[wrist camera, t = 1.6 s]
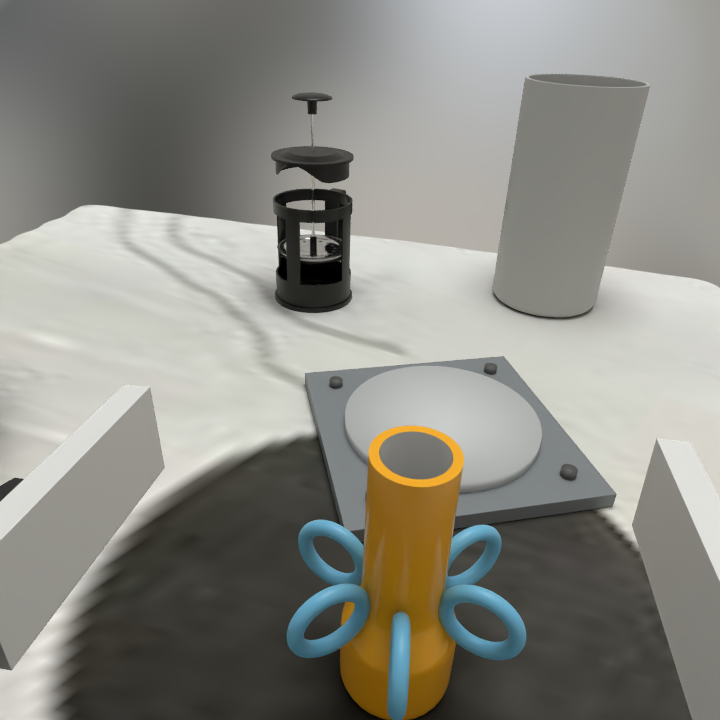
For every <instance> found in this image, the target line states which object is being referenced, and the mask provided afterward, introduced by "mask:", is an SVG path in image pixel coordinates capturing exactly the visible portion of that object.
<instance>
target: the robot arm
mask: <svg viewBox="0 0 720 720" xmlns="http://www.w3.org/2000/svg"><path fill="white" fill-rule="evenodd" d="M164 468H165V467H164V462H163V456H162V450H161V445H160V439H159V434H158V428H157V423H156V417H155V412H154V406H153V401H152V395H151V389H150V387H145V386H135V385H125V384H124V385H123V386H122V387H121V388H120V389H119V390H118V391H117V392H116V393H115V394H114V395H113V396H112V397H110V398H109V399H108V400H107V401H106V402H105V403H104V404H103V405H102V406H101V407H100V408H99V409H98V410H97V411H96V412H95V413H94V414H92V415H91V416H90V417H89V418H88V419H87V420H86V421H85V422H84V423H83V424H82V425H81V426H80V427H79V428H78V429H77V430H76V431H74V432H73V433H72V434H71V435H70V436H69V437H68V438H67V439H66V440H65V441H64V442H63V443H62V444H61V445H60V446H59V447H58V448H57V449H55V450H54V451H53V452H52V453H51V454H50V455H49V456H48V457H47V458H46V459H45V460H44V461H43V462H42V463H41V464H40V465H39V466H37V467H36V468H35V469H34V470H33V471H32V472H31V473H30V474H29V475H28V476H27V477H26V478H25V479H20V478H14V479H12V480H10V481H8V482H6V483H5V484H3V485H1V486H0V668H1V669H7V670H12V669H13V668H14V667H15V665H16V664H17V663H18V661H19V660H20V659H21V657H22V656H23V655H24V653H25V652H26V651H27V649H28V648H29V647H30V645H31V644H32V643H33V641H34V640H35V639H36V637H37V636H38V635H39V633H40V632H41V631H42V630H43V628H44V627H45V626H46V624H47V623H48V622H49V620H50V619H51V618H52V616H53V615H54V614H55V612H56V611H57V610H58V608H59V607H60V606H61V604H62V603H63V602H64V600H65V599H66V598H67V596H68V595H69V594H70V592H71V591H72V590H73V588H74V587H75V586H76V584H77V583H78V582H79V580H80V579H81V578H82V576H83V575H84V574H85V572H86V571H87V570H88V568H89V567H90V566H91V565H92V563H93V562H94V561H95V559H96V558H97V557H98V555H99V554H100V553H101V551H102V550H103V549H104V547H105V546H106V545H107V543H108V542H109V541H110V539H111V538H112V537H113V535H114V534H115V533H116V531H117V530H118V529H119V527H120V526H121V525H122V523H123V522H124V521H125V519H126V518H127V517H128V515H129V514H130V513H131V511H132V510H133V509H134V507H135V506H136V505H137V504H138V502H139V501H140V500H141V498H142V497H143V496H144V494H145V493H146V492H147V490H148V489H149V488H150V486H151V485H152V484H153V482H154V481H155V480H156V478H157V477H158V476H159V474H160V473H161V472H162V470H163V469H164ZM632 527H633V530H634V533H635V536H636V540H637V543H638V546H639V549H640V552H641V556H642V559H643V562H644V565H645V569H646V572H647V575H648V578H649V581H650V585H651V588H652V591H653V594H654V598H655V601H656V604H657V607H658V611H659V614H660V617H661V620H662V623H663V627H664V630H665V633H666V636H667V640H668V643H669V646H670V649H671V652H672V656H673V659H674V662H675V665H676V669H677V672H678V675H679V678H680V681H681V685H682V688H683V691H684V694H685V698H686V701H687V704H688V707H689V711H690V714H691V717H692V720H720V497H719V495H718V493H717V491H716V489H715V488H714V486H713V484H712V482H711V480H710V478H709V476H708V474H707V472H706V470H705V468H704V466H703V465H702V463H701V461H700V459H699V457H698V455H697V453H696V451H695V449H694V447H693V445H692V444H691V442H687V441H678V440H668V439H658V438H657V439H656V442H655V446H654V449H653V453H652V456H651V460H650V464H649V467H648V471H647V474H646V478H645V481H644V485H643V488H642V492H641V495H640V499H639V502H638V506H637V510H636V513H635V517H634V520H633V524H632Z"/></svg>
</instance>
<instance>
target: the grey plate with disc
mask: <svg viewBox="0 0 720 720" xmlns="http://www.w3.org/2000/svg"><path fill="white" fill-rule="evenodd" d="M305 385H306V389H307V393H308V397H309V401H310V405H311V409H312V413H313V417H314V421H315V425H316V429H317V433H318V437H319V441H320V445H321V449H322V453H323V457H324V462H325V466H326V470H327V474H328V478H329V482H330V486H331V490H332V494H333V498H334V502H335V506H336V510H337V514H338V518H339V522H340V525H341V526H343V527H344V528H346V529H347V530H349V531H350V532H351V533H352V534H354V535H355V536H356V537H357V538H358V540H359V541H360V542H364V533H365V514H366V494H367V474H368V454H369V447H370V444H371V442H372V441H373V440H374V438H375V437H376V436H378V435H379V434H380V433H382V432H384V431H386V430H388V429H391V428H394V427H399V426H423V427H428V428H431V429H435V430H437V431H440V432H442V433H444V434H446V435H447V436H449V437H450V438H452V439H453V440H454V441H455V442H456V443H457V444H458V445H459V447H460V448H461V450H462V452H463V456H464V465H463V471H462V478H461V484H460V491H459V497H458V503H457V510H456V516H455V523H454V529H457V528H464V527H471V526H476V525H485V524H492V523H499V522H506V521H513V520H520V519H527V518H534V517H541V516H548V515H555V514H562V513H569V512H576V511H583V510H590V509H597V508H604V507H611V506H613V503H614V500H615V497H616V493H615V492H614V490H613V489H612V488H611V487H610V486H609V484H608V483H607V482H606V481H605V479H604V478H603V477H602V476H601V475H600V473H599V472H598V471H597V470H596V468H595V467H594V466H593V465H592V464H591V462H590V461H589V460H588V459H587V457H586V456H585V455H584V454H583V453H582V451H581V450H580V449H579V448H578V446H577V445H576V444H575V443H574V442H573V440H572V439H571V438H570V437H569V435H568V434H567V433H566V432H565V431H564V429H563V428H562V427H561V426H560V424H559V423H558V422H557V421H556V420H555V418H554V417H553V416H552V415H551V414H550V412H549V411H548V410H547V409H546V407H545V406H544V405H543V404H542V403H541V401H540V400H539V399H538V398H537V396H536V395H535V394H534V393H533V392H532V390H531V389H530V388H529V387H528V385H527V384H526V383H525V382H524V381H523V379H522V378H521V377H520V376H519V374H518V373H517V372H516V371H515V370H514V368H513V367H512V366H511V365H510V363H509V362H508V361H507V360H506V359H505V357H504V356H502V357H490V358H478V359H467V360H455V361H443V362H431V363H420V364H408V365H396V366H384V367H372V368H361V369H349V370H337V371H325V372H314V373H305Z"/></svg>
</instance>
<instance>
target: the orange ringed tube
mask: <svg viewBox="0 0 720 720" xmlns="http://www.w3.org/2000/svg"><path fill="white" fill-rule="evenodd" d="M463 465H464V456H463V452H462V450H461V448H460V447H459V445H458V444H457V443H456V442H455V441H454V440H453V439H452V438H450V437H449V436H447V435H446V434H444V433H442V432H440V431H437V430H435V429H431V428H428V427H423V426H399V427H394V428H391V429H388V430H386V431H384V432H382V433H380V434H379V435H378V436H376V437H375V438H374V440H373V441H372V442H371V444H370V447H369V454H368V474H367V494H366V514H365V533H364V546H363V545H362V543H361V542H360V541H359V540H358V538H357V537H356V536H355V535H354V534H352V533H351V532H350V531H349V530H347V529H346V528H344V527H343V526H341V525H339V524H337V523H334V522H331V521H327V520H314V521H311V522H309V523H307V524H306V525H305V526H304V527H303V528H302V529H301V531H300V534H299V538H298V545H299V550H300V553H301V555H302V557H303V559H304V561H305V562H306V564H307V565H308V567H309V568H310V569H311V570H312V571H313V572H314V573H315V574H316V575H317V576H318V577H320V578H321V579H322V580H324V581H326V582H327V583H329V584H331V585H333V586H331V587H329V588H326V589H324V590H322V591H320V592H318V593H317V594H315V595H314V596H312V597H311V598H310V599H308V600H307V601H306V602H305V603H304V604H303V605H302V606H301V607H300V608H299V609H298V610H297V612H296V613H295V614H294V616H293V618H292V619H291V621H290V624H289V626H288V630H287V643H288V646H289V648H290V649H291V651H292V652H293V653H294V654H296V655H298V656H300V657H303V658H317V657H322V656H325V655H328V654H330V653H332V652H334V651H336V650H338V649H340V671H341V677H342V680H343V683H344V685H345V688H346V690H347V691H348V693H349V694H350V696H351V697H352V698H353V700H354V701H355V702H356V703H357V704H358V705H359V706H360V707H361V708H362V709H364V710H366V711H367V712H368V713H370V714H372V715H374V716H377V717H379V718H381V719H387V720H410V719H415V718H417V717H419V716H422V715H424V714H426V713H427V712H428V711H430V710H431V709H432V708H434V707H435V706H436V705H437V704H438V702H439V701H440V700H441V699H442V697H443V695H444V693H445V691H446V689H447V686H448V683H449V678H450V673H451V668H452V662H453V657H454V651H455V646H456V643H457V644H459V645H460V646H461V647H463V648H464V649H466V650H467V651H469V652H471V653H473V654H475V655H477V656H480V657H483V658H486V659H491V660H507V659H510V658H513V657H515V656H516V655H518V654H519V653H520V652H521V651H522V649H523V648H524V646H525V643H526V629H525V626H524V623H523V621H522V619H521V617H520V616H519V614H518V613H517V611H516V610H515V609H514V608H513V607H512V606H511V605H510V604H509V603H508V602H507V601H506V600H504V599H503V598H502V597H500V596H499V595H497V594H495V593H494V592H492V591H490V590H487V589H485V588H482V587H479V586H474V585H473V584H475V583H476V582H478V581H479V580H480V579H481V578H482V577H483V576H485V575H486V573H487V572H488V571H489V570H490V569H491V568H492V566H493V565H494V563H495V562H496V560H497V558H498V556H499V553H500V550H501V537H500V535H499V533H498V531H497V530H496V529H495V528H493V527H491V526H489V525H476V526H472V527H469V528H467V529H465V530H463V531H461V532H460V533H458V534H457V535H456V536H454V537H453V538H452V536H453V530H454V523H455V516H456V510H457V503H458V497H459V491H460V484H461V478H462V471H463ZM318 535H322V536H327V537H329V538H332V539H334V540H335V541H337V542H338V543H340V544H341V545H342V546H343V547H344V548H345V549H346V550H347V551H348V552H349V553H350V555H351V556H352V558H353V560H354V562H355V567H356V568H355V571H354V572H353V573H343V572H339V571H337V570H335V569H333V568H332V567H330V566H329V565H327V564H326V563H325V562H324V561H323V560H322V559H321V558H320V557H319V555H318V554H317V552H316V551H315V548H314V546H313V538H314V537H315V536H318ZM481 540H486V542H487V544H486V548H485V550H484V552H483V554H482V556H481V557H480V558H479V560H478V561H477V562H476V563H475V564H474V565H473V566H472V567H471V568H469V569H468V570H467V571H465V572H463V573H462V574H459V575H457V576H453V577H449V576H448V575H447V574H448V569H449V567H450V565H451V563H452V562H453V560H454V559H455V558H456V557H457V556H458V554H459V553H460V552H462V551H463V550H464V549H465V548H466V547H468V546H469V545H471V544H473V543H475V542H477V541H481ZM444 591H445V592H444ZM341 602H345V605H344V608H343V611H342V617H341V627H340V628H339V629H338V630H336V631H335V632H333V633H332V634H330V635H328V636H326V637H323V638H320V639H317V640H307V639H305V638H304V632H305V630H306V628H307V626H308V625H309V624H310V622H311V621H312V620H313V619H314V618H315V617H316V616H317V615H318V614H319V613H321V612H322V611H324V610H325V609H327V608H328V607H330V606H332V605H335V604H337V603H341ZM464 602H467V603H474V604H477V605H480V606H482V607H484V608H486V609H488V610H490V611H491V612H493V613H494V614H495V615H497V616H498V617H499V618H500V619H501V620H502V621H503V623H504V624H505V625H506V627H507V629H508V632H509V637H508V638H507V639H506V640H505V641H502V642H490V641H486V640H483V639H481V638H478V637H476V636H474V635H473V634H471V633H470V632H468V631H467V630H466V629H465V628H464V627H463V626H462V625H461V624H460V623H459V622H458V620H457V619H456V616H455V612H454V607H455V605H457V604H459V603H464Z"/></svg>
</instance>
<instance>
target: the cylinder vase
mask: <svg viewBox="0 0 720 720" xmlns="http://www.w3.org/2000/svg"><path fill="white" fill-rule="evenodd" d="M649 88H650V84H649V83H646V82H642V81H637V80H631V79H624V78H614V77H605V76H593V75H575V74H535V75H528V76H526V77H525V83H524V89H523V95H522V101H521V108H520V114H519V121H518V127H517V134H516V140H515V146H514V153H513V159H512V166H511V172H510V179H509V185H508V192H507V198H506V205H505V211H504V218H503V224H502V230H501V236H500V243H499V249H498V256H497V262H496V269H495V275H494V281H493V291H494V293H495V295H496V296H497V298H498V299H499V300H500V301H502V302H503V303H504V304H506V305H508V306H509V307H511V308H514V309H516V310H518V311H521V312H524V313H528V314H532V315H537V316H544V317H571V316H576V315H580V314H582V313H585V312H587V311H588V310H590V309H591V308H592V307H593V305H594V304H595V301H596V297H597V294H598V290H599V286H600V282H601V278H602V274H603V270H604V266H605V262H606V258H607V254H608V249H609V246H610V242H611V238H612V234H613V230H614V226H615V222H616V218H617V215H618V211H619V206H620V202H621V199H622V195H623V191H624V187H625V182H626V178H627V174H628V171H629V167H630V163H631V159H632V155H633V151H634V147H635V143H636V139H637V135H638V132H639V127H640V124H641V119H642V116H643V112H644V108H645V104H646V100H647V96H648V92H649Z"/></svg>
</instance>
